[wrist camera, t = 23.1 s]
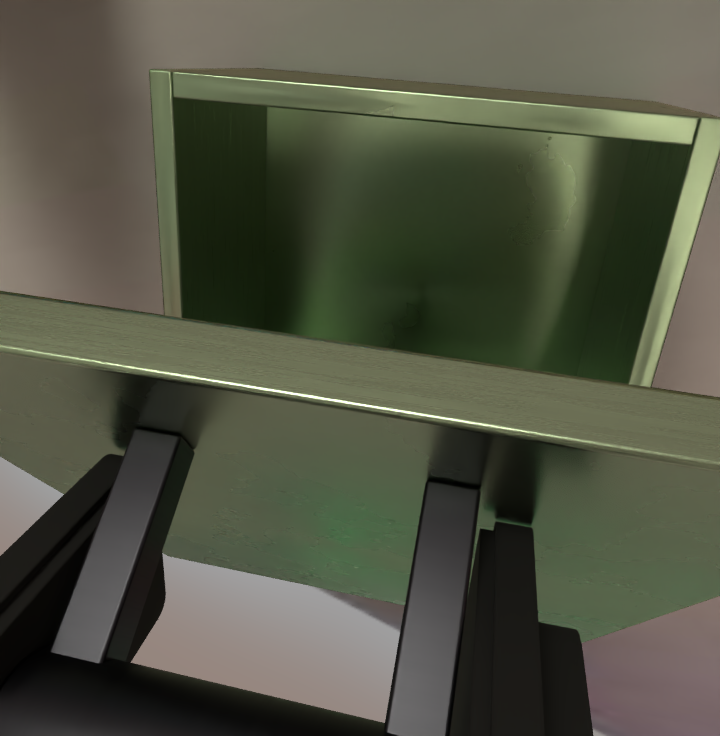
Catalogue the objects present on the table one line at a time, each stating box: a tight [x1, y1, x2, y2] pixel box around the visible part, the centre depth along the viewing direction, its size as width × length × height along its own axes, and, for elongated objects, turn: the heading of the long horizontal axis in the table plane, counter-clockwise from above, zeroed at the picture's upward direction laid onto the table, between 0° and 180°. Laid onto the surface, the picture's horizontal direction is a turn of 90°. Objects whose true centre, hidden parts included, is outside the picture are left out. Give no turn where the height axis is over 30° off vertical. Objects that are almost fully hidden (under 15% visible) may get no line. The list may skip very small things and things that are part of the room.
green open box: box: [149, 68, 720, 387], centre depth 21 cm, size 14×13×8 cm
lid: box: [0, 291, 720, 736], centre depth 13 cm, size 15×13×5 cm
